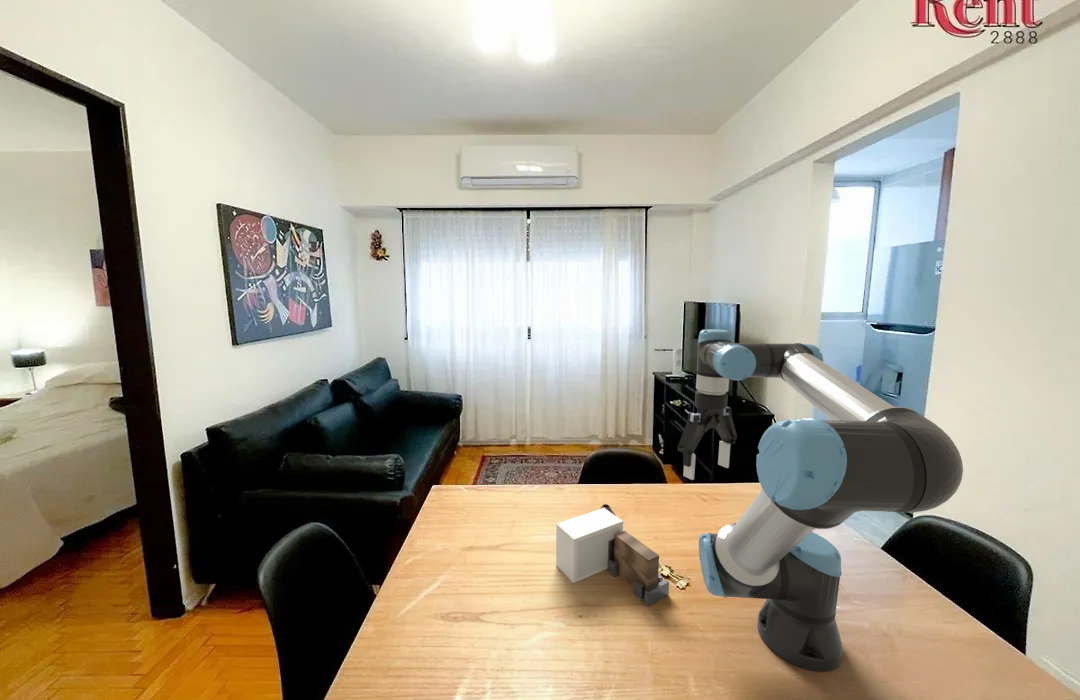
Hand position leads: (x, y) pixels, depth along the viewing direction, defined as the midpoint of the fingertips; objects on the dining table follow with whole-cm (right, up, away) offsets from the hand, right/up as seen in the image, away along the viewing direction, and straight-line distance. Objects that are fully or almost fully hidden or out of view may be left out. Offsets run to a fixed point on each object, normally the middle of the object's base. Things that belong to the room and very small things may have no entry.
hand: (706, 471), depth 107 cm
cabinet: (-30, -26, +5) cm, 40 cm away
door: (-19, -27, -2) cm, 33 cm away
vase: (-23, -24, +19) cm, 39 cm away
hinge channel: (-19, -27, -1) cm, 33 cm away
